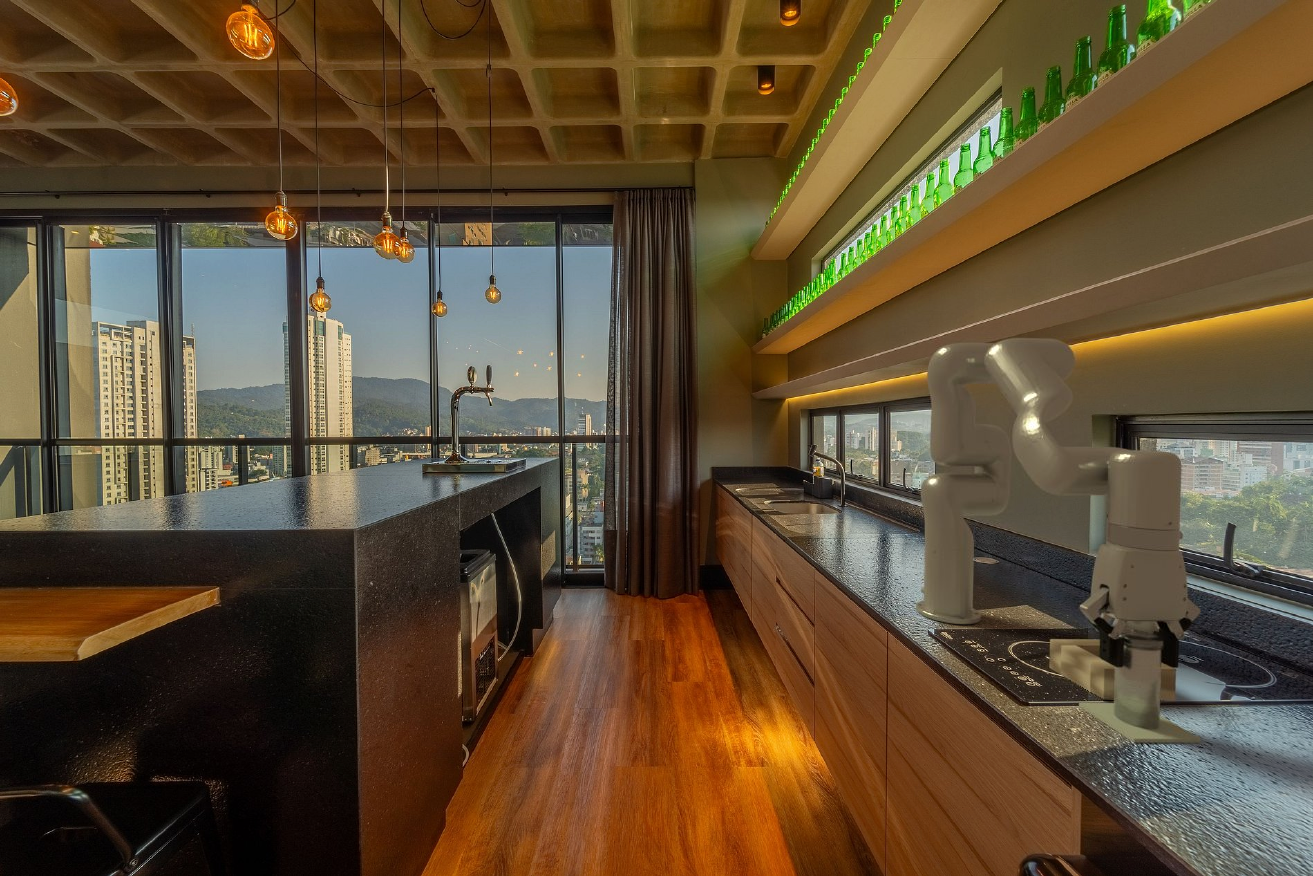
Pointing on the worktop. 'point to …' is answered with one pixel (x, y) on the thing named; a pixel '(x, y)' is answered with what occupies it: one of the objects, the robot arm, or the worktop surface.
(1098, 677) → the tan square frame
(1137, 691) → the grey cylindrical piece
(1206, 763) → the worktop surface
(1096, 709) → the mat
